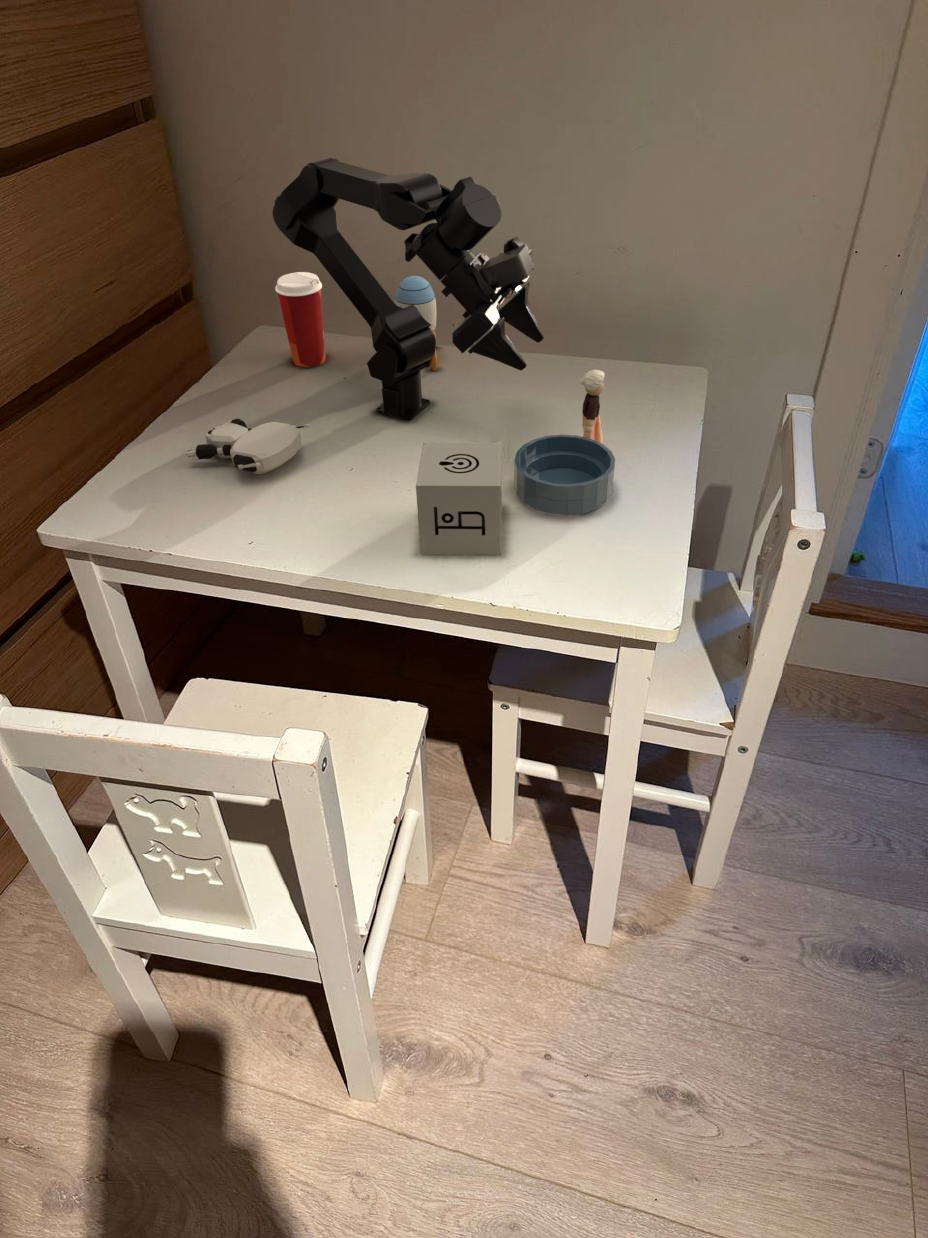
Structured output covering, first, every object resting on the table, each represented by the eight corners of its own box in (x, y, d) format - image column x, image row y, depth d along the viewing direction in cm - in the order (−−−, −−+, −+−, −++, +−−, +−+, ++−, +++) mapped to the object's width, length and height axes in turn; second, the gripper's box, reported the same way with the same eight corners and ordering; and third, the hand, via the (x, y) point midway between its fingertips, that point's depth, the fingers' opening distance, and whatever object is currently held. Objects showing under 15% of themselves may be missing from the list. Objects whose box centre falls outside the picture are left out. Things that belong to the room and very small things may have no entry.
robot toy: (185, 473, 128) (268, 490, 122) (176, 445, 126) (261, 460, 120) (238, 434, 137) (318, 448, 131) (230, 407, 134) (312, 420, 128)
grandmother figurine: (607, 465, 126) (615, 381, 118) (580, 466, 126) (586, 383, 117) (596, 438, 132) (603, 356, 123) (570, 439, 132) (575, 358, 123)
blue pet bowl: (538, 457, 128) (539, 426, 125) (625, 479, 123) (629, 447, 120) (497, 503, 119) (497, 471, 116) (589, 528, 114) (592, 495, 111)
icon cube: (420, 553, 111) (415, 485, 104) (426, 509, 119) (422, 442, 112) (500, 554, 110) (501, 485, 104) (502, 509, 118) (502, 442, 111)
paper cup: (339, 354, 156) (330, 274, 146) (316, 373, 150) (304, 290, 141) (302, 347, 158) (290, 268, 149) (277, 365, 153) (263, 283, 144)
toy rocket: (449, 375, 151) (429, 295, 139) (388, 386, 152) (363, 308, 141) (448, 342, 157) (429, 262, 146) (390, 353, 159) (367, 275, 148)
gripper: (474, 248, 107) (559, 347, 111) (516, 202, 120) (591, 292, 125) (416, 306, 114) (498, 396, 118) (462, 256, 127) (534, 339, 132)
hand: (533, 353), depth 123 cm, fingers open, 9 cm apart
